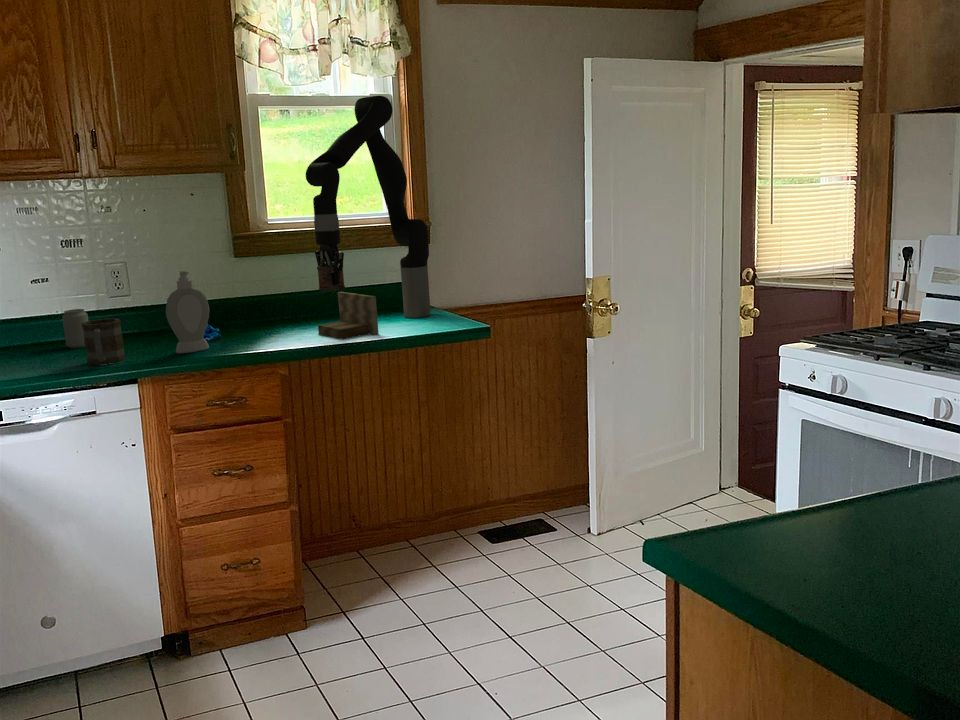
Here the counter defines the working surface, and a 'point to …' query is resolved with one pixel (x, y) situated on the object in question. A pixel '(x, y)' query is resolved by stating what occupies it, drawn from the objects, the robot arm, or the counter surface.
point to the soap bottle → (188, 315)
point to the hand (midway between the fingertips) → (331, 284)
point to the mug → (103, 341)
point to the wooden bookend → (353, 317)
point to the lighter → (328, 278)
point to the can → (74, 327)
